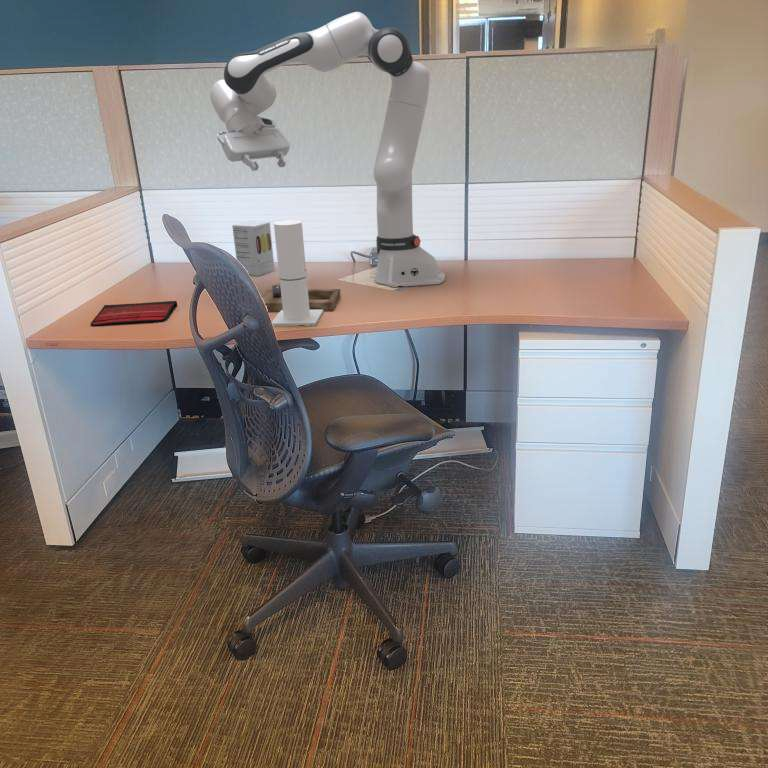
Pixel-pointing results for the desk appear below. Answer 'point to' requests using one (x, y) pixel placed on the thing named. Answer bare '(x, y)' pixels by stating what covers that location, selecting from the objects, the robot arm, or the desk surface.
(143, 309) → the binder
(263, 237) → the supplement box
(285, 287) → the cylindrical container
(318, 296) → the walnut board
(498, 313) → the desk surface
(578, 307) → the desk surface
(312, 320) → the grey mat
